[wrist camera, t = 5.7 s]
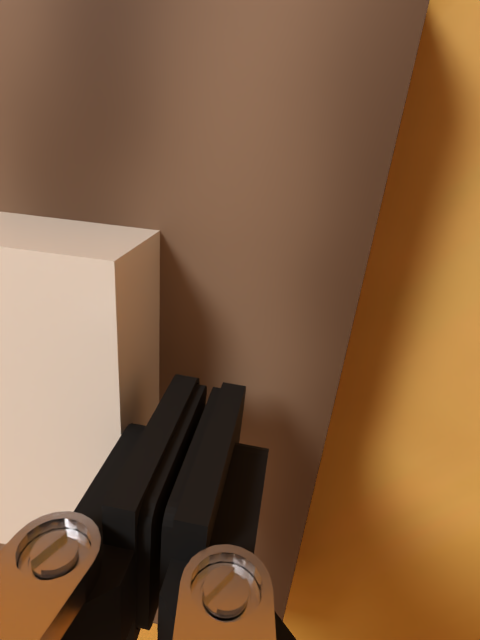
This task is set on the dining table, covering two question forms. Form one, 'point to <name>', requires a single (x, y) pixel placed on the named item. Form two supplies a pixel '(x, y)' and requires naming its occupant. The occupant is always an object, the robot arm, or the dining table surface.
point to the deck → (223, 187)
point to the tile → (71, 355)
